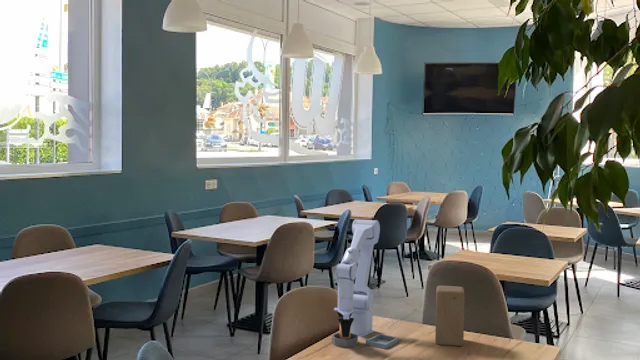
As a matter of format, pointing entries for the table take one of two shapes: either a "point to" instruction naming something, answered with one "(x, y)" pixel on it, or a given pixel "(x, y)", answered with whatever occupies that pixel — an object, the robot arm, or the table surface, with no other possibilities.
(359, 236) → the robot arm
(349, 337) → the dowel
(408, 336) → the table surface
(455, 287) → the wooden block
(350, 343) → the grey round bowl
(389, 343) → the tray
